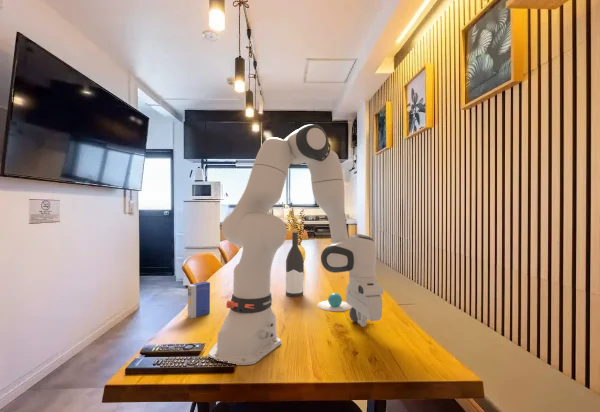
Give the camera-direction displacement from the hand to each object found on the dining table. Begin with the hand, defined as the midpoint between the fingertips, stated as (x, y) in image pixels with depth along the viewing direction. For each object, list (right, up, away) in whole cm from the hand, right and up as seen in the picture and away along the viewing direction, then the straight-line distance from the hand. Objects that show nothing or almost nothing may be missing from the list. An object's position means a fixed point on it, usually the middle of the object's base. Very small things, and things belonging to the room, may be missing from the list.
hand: (361, 324), depth 109 cm
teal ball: (-6, +1, +24) cm, 25 cm away
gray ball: (0, +1, +7) cm, 7 cm away
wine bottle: (-23, -1, +41) cm, 47 cm away
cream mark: (-6, -1, +25) cm, 26 cm away
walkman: (-58, -1, +13) cm, 60 cm away
